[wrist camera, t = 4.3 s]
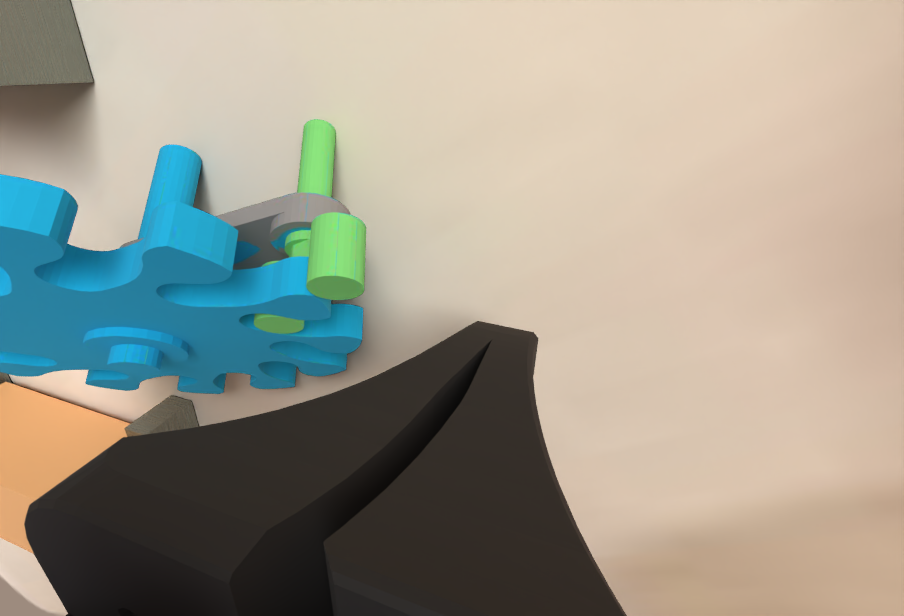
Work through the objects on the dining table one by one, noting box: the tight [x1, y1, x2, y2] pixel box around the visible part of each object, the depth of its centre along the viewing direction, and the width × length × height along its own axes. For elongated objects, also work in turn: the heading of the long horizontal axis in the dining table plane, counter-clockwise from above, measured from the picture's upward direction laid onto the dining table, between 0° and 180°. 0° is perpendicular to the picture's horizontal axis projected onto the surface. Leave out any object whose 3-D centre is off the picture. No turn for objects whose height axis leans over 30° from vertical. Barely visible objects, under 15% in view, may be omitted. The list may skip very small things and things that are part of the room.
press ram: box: [0, 382, 130, 554], centre depth 20 cm, size 4×10×4 cm, turn 89°
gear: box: [0, 119, 366, 394], centre depth 12 cm, size 11×6×10 cm
